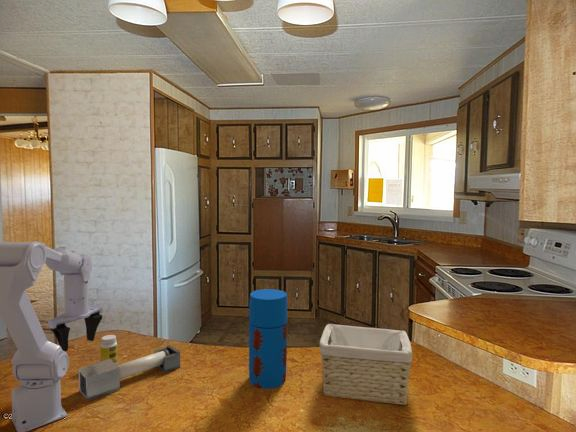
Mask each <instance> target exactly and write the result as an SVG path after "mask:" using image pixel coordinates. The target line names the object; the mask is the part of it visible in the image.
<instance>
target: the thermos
mask: <svg viewBox="0 0 576 432" xmlns="http://www.w3.org/2000/svg"><path fill="white" fill-rule="evenodd" d="M287 294H288V293H287V292H286V291H283V290H280V289H275V288H273V289H270V288H269V289H268V288H265V289H257V290H254V291H252V292H250V294H249V295H250V296H249V301H248V302H249V304H248V305H249V306H248V308H249V309H248V310H249V311H248V313H249V314H248V315H249V318H248V320H249V324H248V376H249V382H250V385H252V386H253V387H255V388H259V389H262V390H263V389H264V390H269V389H270V390H271V389H272V390H273V389H276V388H279V387H281V386H283V385H284V384H285V382H286V380H287V364H288V363H287V355H288V353H287V352H288V350H287V349H288V348H287V347H288V345H287V343H288V295H287Z"/></svg>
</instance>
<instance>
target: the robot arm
mask: <svg viewBox="0 0 576 432" xmlns="http://www.w3.org/2000/svg"><path fill="white" fill-rule="evenodd" d="M44 264H45V266H47V268H48V269H49V270H51V271H55V272H59V275H61V276H63V287H64V288H63V289H64V290H63V291H64V293H63V294H64V313H62V314H61V315H58V316H56V317H54V318H52V319H48V320H47V328H50V329H49V330H50V331H51V332H52V333H53V335H54V336H55V338H56V340H57V342H58V344H56V343H54V342H52V341H50V340H48V339H47V336H46V334H45V332H44V330H43V327H42V325H41V323H40V320H39V318H38V315H37V314H36V311H35V309H34V307H33V304H32V301H31V300H30V298H29V295H28V293H27V291H26V290H28V289H29V288H31V287H33V286H34V285H35V283H36V281H37V279H38V277H39V275H40V274H41V273H40V272H41V270H42V268H43V266H44ZM92 266H93V263H92V259H91V257H90V256H88V255H87V254H83V253H81V254H80V253H79V254H78V253H77V251H75V250H68V247H67V246H59V247H57V248H54V249H53V248H51V247H48V246H46V244H45V243H44V242H41V241H32V242H31V241H29V242H27V241H23V242H22V241H18V242H17V241H0V318H1V319H2V321H3V322H4V326H5V327H6V329H7V331H8V333H9V335H10V336H11V340H12V341H13V342H14V345H15V346H16V349H17V351H15V353H14V354H13V357H12V358H11V360H10V363H11V365H12V374H13V377H14V379H15V380H16V381H19V385H18V386H17V387H14V388H12V389H11V420H12V423H13V425H14V427H15V430H16V432H29V431H33V430H34V429H37V428H39V427H41V426H45V425H48V424H50V423H53V422H56V421H58V420H61V419H63V418H66V417H67V416H68V413H67V412H66V411H65V409H64V407H63V406H62V394H61V392H62V390H61V389H62V388H61V379H62V378H64V376H65V375H66V373H67V371H68V369H69V364H70V363H69V362H70V357H69V354H68V353H67V352H68V350H69V336H70V335H69V334H70V330H71V327H68V326H67V324H68V323H72V322H75V321H78V320H81V319H84V323H85V329H86V331H85V332H86V340H87V341H89V342H93V341H95V337H96V333H97V329H98V327H99V326H100V323H101V321H102V320H103V315H102V314H103V313H104V306H102V305H98V304H97V305H95V306H89V280H90V278H91V270H92Z"/></svg>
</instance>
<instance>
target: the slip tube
mask: <svg viewBox="0 0 576 432" xmlns="http://www.w3.org/2000/svg"><path fill="white" fill-rule="evenodd" d="M168 355H170V354H169V351H168V350H167V349H165V350H162V351H161V352H158V353H154V352H153V353H152V354H149V355H146V356H142V357H139V358H136V359H133V360H129V361H127V362H124V363H120V364H116V365H117V366H118V367H119V370H120V380H123V379H124V378H128V377H131V376H134V375H136V374H139V373H142V372H145V371H148V370H150V369H153V368H158V367H157V366H160V365H163V357H165V356H168Z"/></svg>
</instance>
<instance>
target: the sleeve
mask: <svg viewBox="0 0 576 432" xmlns="http://www.w3.org/2000/svg"><path fill="white" fill-rule="evenodd" d="M117 365H118V364H117V363H116V364H115V363H114V362H113V361H112V360H110V359H108V360H105V361H102V362H101V361H98V362H96V363H92V364H89V365H85V366H83V367H79V368H78V392H80V394H81V395H82V396H83V398H84V399H85V400H86V401H87V402H90V401H93V400H95V399H98V398H101V397H103V396H107V395H109V394H111V393H114V392H117V391H119V390H120V389H121V387H120V386H121V383H120V381H121V379H120V370H119V367H118V366H117Z"/></svg>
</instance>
